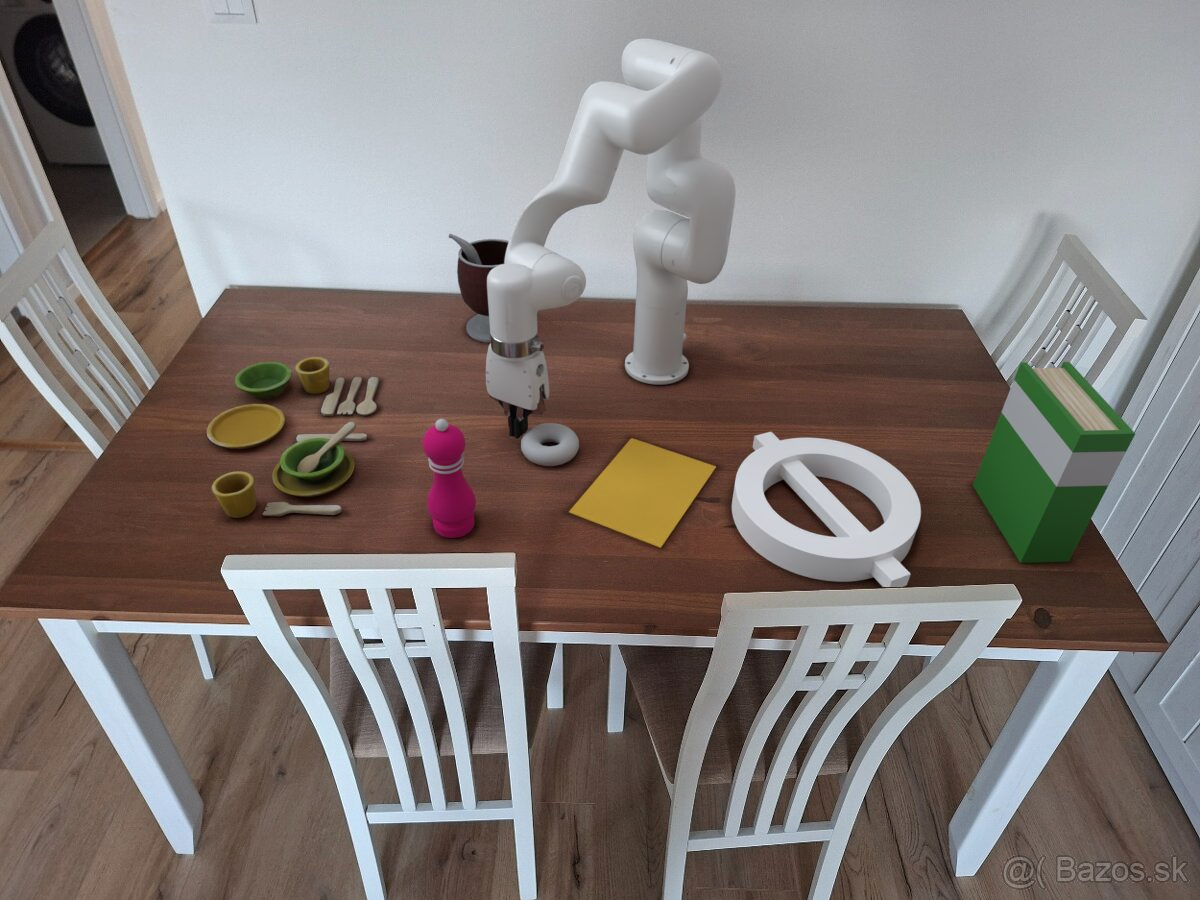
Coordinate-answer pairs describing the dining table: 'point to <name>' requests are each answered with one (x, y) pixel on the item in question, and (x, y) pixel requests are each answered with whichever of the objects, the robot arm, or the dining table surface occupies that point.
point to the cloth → (644, 492)
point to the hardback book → (1050, 461)
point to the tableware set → (304, 464)
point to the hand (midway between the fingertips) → (518, 433)
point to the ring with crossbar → (826, 510)
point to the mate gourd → (478, 279)
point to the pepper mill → (448, 481)
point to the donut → (549, 454)
